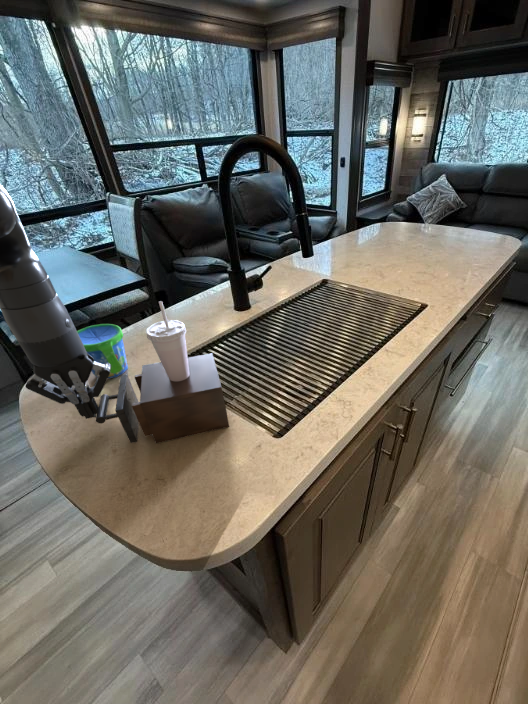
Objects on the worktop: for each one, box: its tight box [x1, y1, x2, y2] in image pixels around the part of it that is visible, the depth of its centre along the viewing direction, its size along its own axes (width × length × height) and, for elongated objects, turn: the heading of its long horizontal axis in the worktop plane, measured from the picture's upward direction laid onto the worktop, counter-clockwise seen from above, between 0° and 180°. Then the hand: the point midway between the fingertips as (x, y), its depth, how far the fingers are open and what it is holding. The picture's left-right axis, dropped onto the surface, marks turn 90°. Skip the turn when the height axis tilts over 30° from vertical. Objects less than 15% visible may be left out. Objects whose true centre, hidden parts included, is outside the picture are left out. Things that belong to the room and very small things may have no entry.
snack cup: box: [77, 323, 129, 380], centre depth 77 cm, size 16×10×10 cm
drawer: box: [95, 373, 153, 444], centre depth 63 cm, size 17×11×8 cm
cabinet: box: [139, 353, 230, 444], centre depth 65 cm, size 14×13×10 cm
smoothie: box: [145, 300, 190, 381], centre depth 57 cm, size 6×6×14 cm
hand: (91, 415), depth 61 cm, fingers closed
